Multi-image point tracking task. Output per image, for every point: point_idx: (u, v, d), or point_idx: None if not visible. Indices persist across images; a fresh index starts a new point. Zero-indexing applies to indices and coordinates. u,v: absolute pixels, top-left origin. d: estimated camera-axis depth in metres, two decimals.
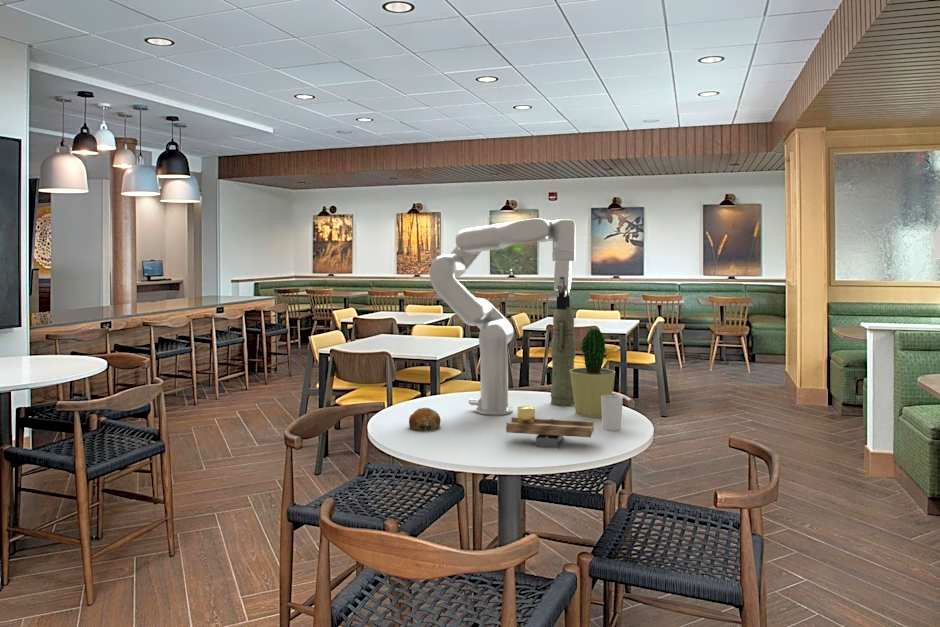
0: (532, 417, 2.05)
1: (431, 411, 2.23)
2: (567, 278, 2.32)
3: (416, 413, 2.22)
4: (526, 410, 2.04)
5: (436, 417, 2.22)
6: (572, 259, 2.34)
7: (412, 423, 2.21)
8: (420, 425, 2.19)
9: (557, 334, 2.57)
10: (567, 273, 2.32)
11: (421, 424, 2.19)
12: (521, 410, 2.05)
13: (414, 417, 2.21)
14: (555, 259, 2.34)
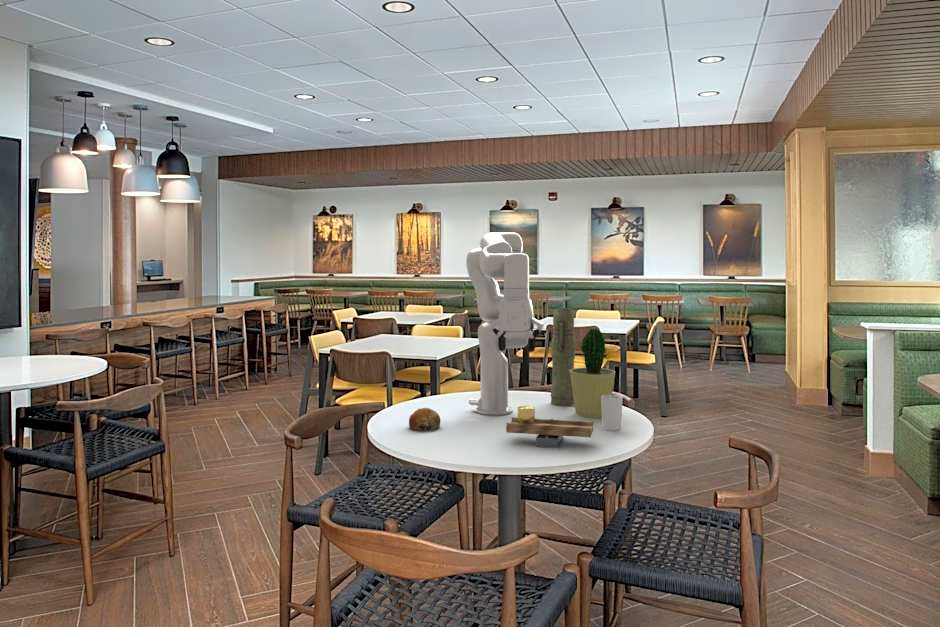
0: (532, 417, 2.05)
1: (431, 411, 2.23)
2: (533, 317, 2.14)
3: (416, 414, 2.21)
4: (526, 410, 2.04)
5: (436, 417, 2.22)
6: None
7: (412, 423, 2.20)
8: (420, 425, 2.19)
9: (557, 334, 2.57)
10: (532, 312, 2.14)
11: (421, 424, 2.19)
12: (521, 410, 2.05)
13: (414, 417, 2.21)
14: (521, 297, 2.11)
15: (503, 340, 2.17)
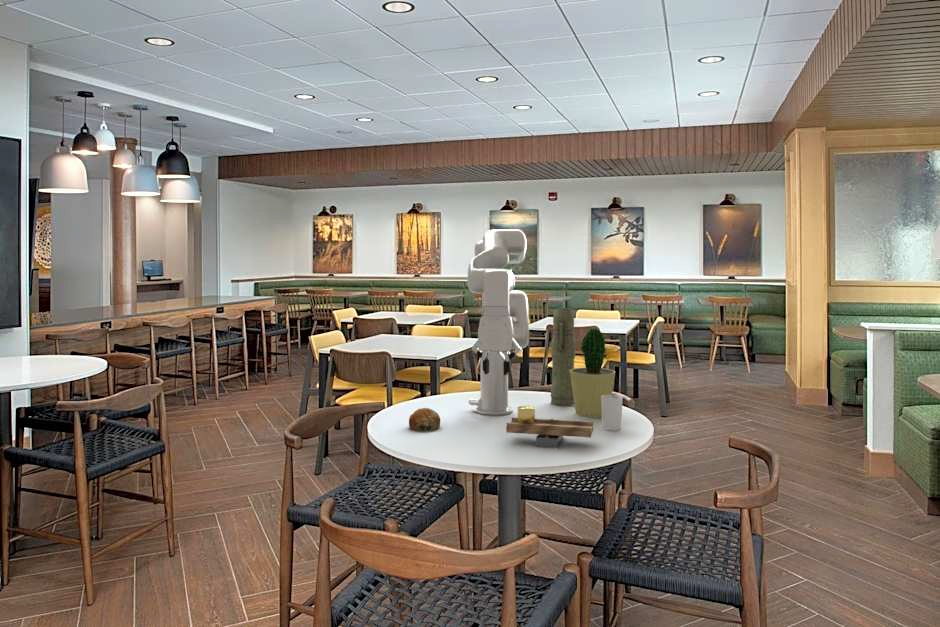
0: (532, 417, 2.05)
1: (431, 411, 2.23)
2: None
3: (416, 414, 2.21)
4: (526, 410, 2.04)
5: (436, 417, 2.22)
6: None
7: (412, 423, 2.20)
8: (420, 425, 2.19)
9: (557, 334, 2.57)
10: None
11: (421, 424, 2.19)
12: (521, 410, 2.05)
13: (414, 417, 2.21)
14: (503, 316, 2.04)
15: (488, 363, 2.09)
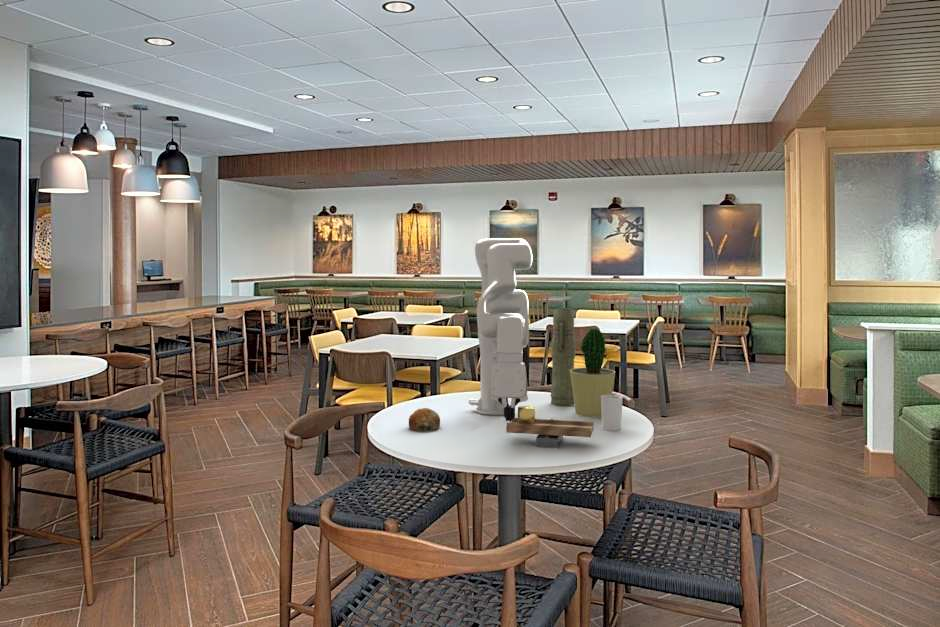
0: (532, 417, 2.05)
1: (431, 411, 2.23)
2: None
3: (416, 414, 2.21)
4: (526, 410, 2.04)
5: (436, 417, 2.22)
6: None
7: (412, 423, 2.20)
8: (420, 425, 2.19)
9: (557, 334, 2.57)
10: None
11: (421, 424, 2.19)
12: (521, 410, 2.05)
13: (414, 417, 2.21)
14: (517, 362, 2.04)
15: None
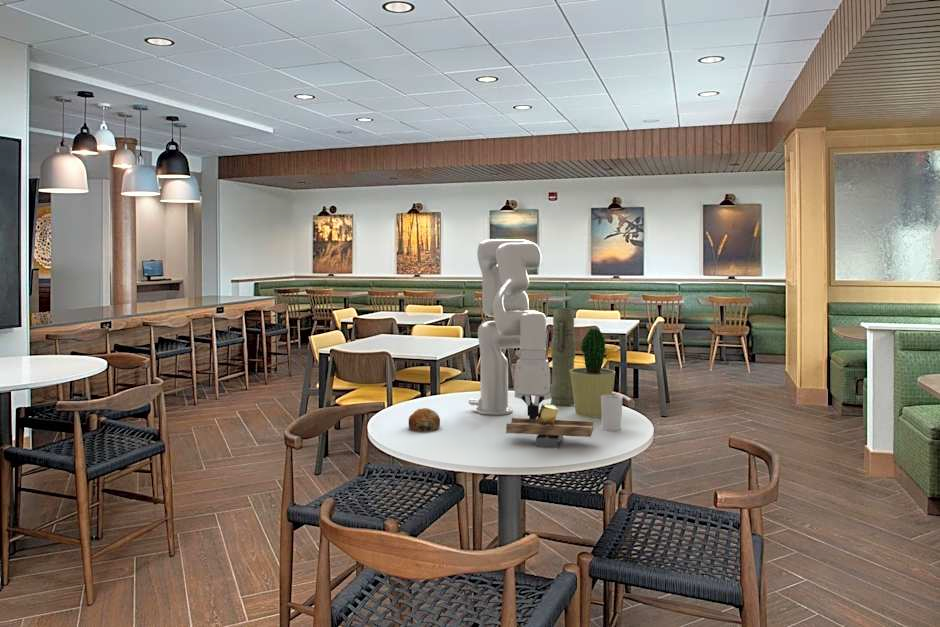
0: (553, 419, 2.03)
1: (431, 411, 2.23)
2: None
3: (416, 414, 2.21)
4: (550, 411, 2.02)
5: (436, 417, 2.21)
6: None
7: (412, 424, 2.20)
8: (420, 426, 2.19)
9: (557, 334, 2.57)
10: None
11: (421, 425, 2.19)
12: (545, 410, 2.02)
13: (414, 418, 2.20)
14: (541, 359, 2.01)
15: None
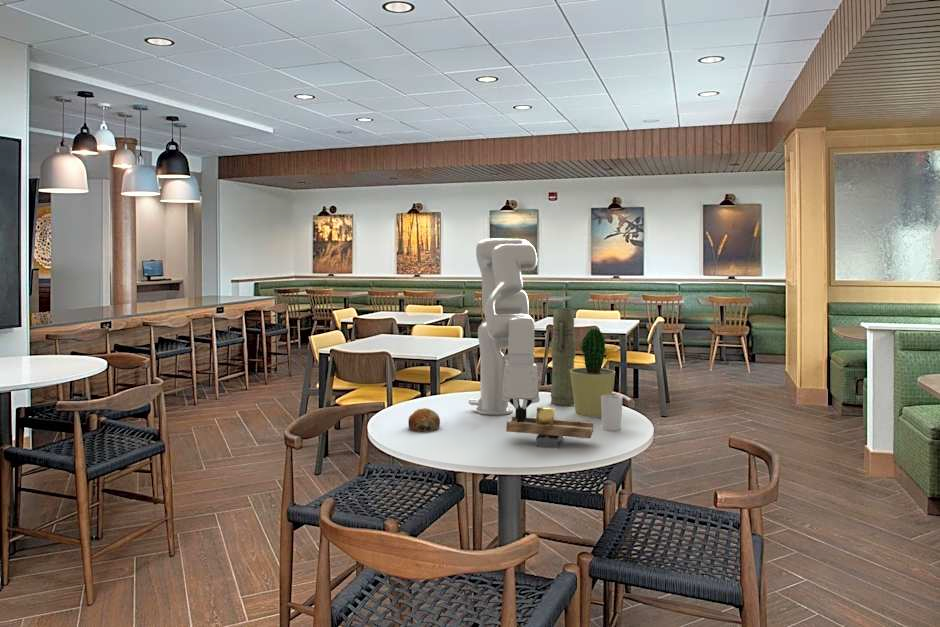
0: (551, 418, 2.04)
1: (430, 412, 2.22)
2: None
3: (415, 414, 2.21)
4: (546, 410, 2.03)
5: (435, 418, 2.21)
6: None
7: (411, 424, 2.20)
8: (419, 426, 2.18)
9: (557, 334, 2.57)
10: None
11: (420, 425, 2.19)
12: (541, 410, 2.03)
13: (413, 418, 2.20)
14: (529, 363, 2.03)
15: None
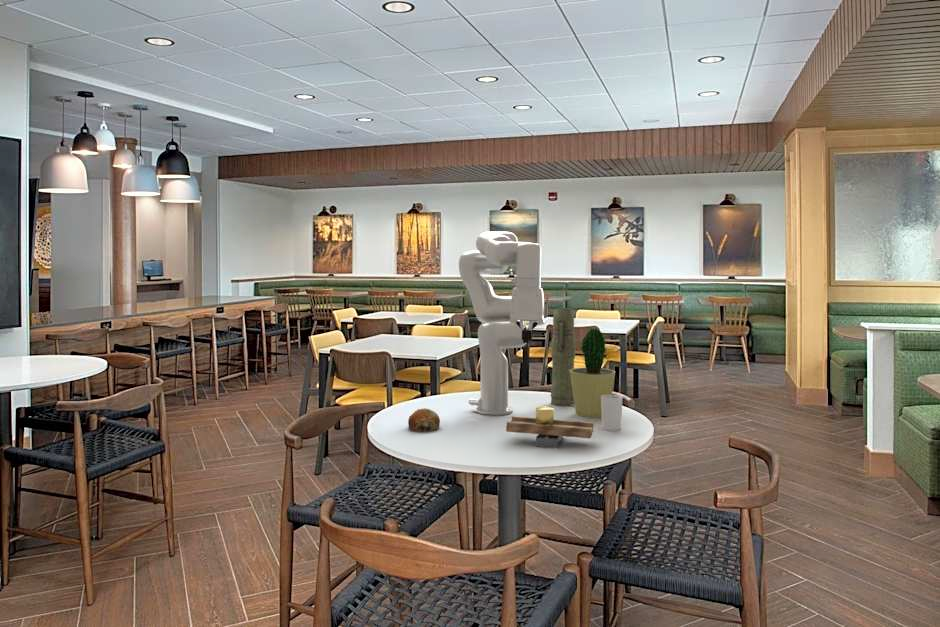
0: (550, 418, 2.03)
1: (430, 412, 2.22)
2: None
3: (415, 414, 2.21)
4: (544, 411, 2.02)
5: (435, 418, 2.21)
6: None
7: (411, 424, 2.20)
8: (419, 426, 2.18)
9: (557, 334, 2.57)
10: None
11: (420, 425, 2.18)
12: (539, 411, 2.03)
13: (413, 418, 2.20)
14: (535, 287, 2.15)
15: None
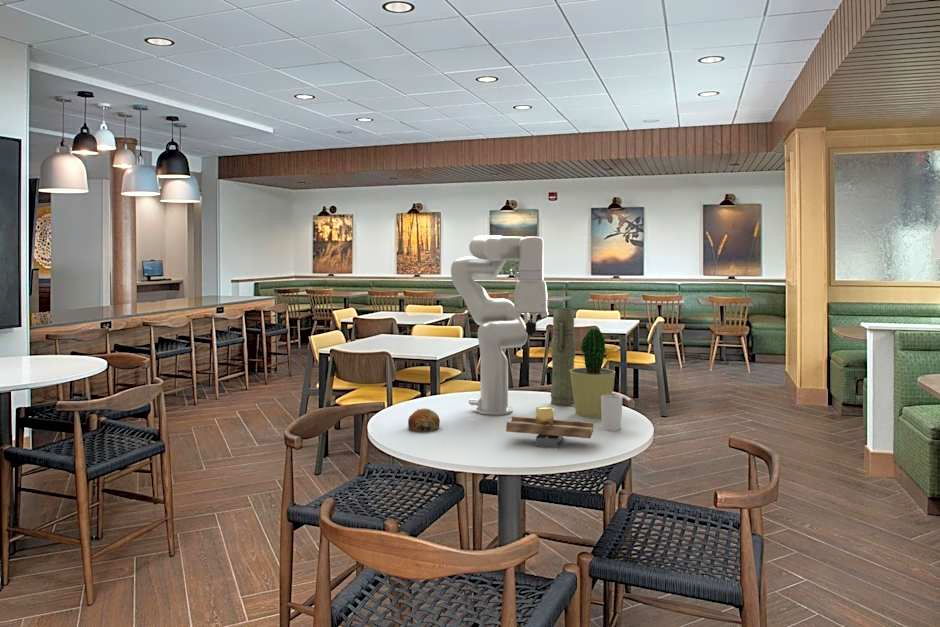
0: (549, 418, 2.03)
1: (430, 412, 2.22)
2: None
3: (415, 414, 2.20)
4: (543, 410, 2.03)
5: (435, 418, 2.21)
6: None
7: (411, 424, 2.19)
8: (419, 426, 2.18)
9: (557, 334, 2.57)
10: None
11: (420, 425, 2.18)
12: (538, 410, 2.04)
13: (413, 418, 2.20)
14: (538, 279, 2.19)
15: None
